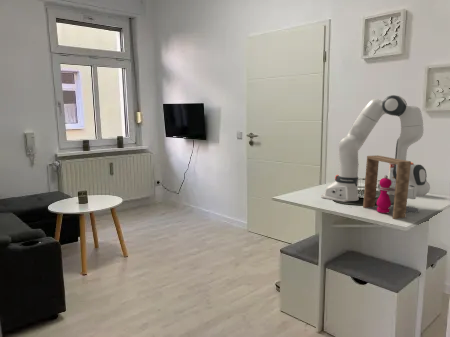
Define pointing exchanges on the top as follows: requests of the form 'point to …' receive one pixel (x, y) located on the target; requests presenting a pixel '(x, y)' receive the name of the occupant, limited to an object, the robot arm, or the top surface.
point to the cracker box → (390, 175)
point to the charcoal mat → (411, 209)
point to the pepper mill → (384, 195)
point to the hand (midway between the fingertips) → (383, 191)
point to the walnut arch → (400, 187)
